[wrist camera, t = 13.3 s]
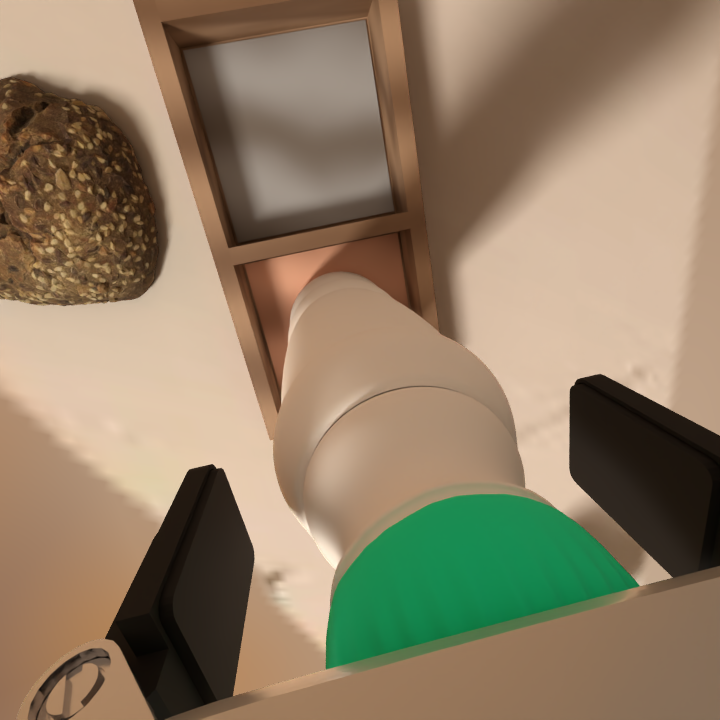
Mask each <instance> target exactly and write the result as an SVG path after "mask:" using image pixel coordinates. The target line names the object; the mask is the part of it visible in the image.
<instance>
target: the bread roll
mask: <svg viewBox="0 0 720 720" xmlns="http://www.w3.org/2000/svg"><path fill="white" fill-rule="evenodd" d="M154 212H155V207H154V203H153V201H152V199H151V197H150V195H149V192H148V188H147V186H146V185H145V183H144V181H143V179H142V177H141V169H140V166H139V164H138V162H137V159H136V157H135V153H134V149H133V148H132V146H131V145H130V143H129V142H128V140H127V139H126V137H125V136H124V135H123V133H122V132H121V130H120V129H119V128H118V127H117V126H116V125H114V123H113V122H112V121H111V120H110V118H109V117H108V116H107V115H106V114H105V112H104V111H103V110H102V109H100V108H99V107H98V106H93V105H87V104H85V103H83V102H82V101H81V100H78V99H65V98H62V97H59V96H57V95H55V94H53V93H45V92H43V91H42V90H41V89H39V88H38V87H36V86H35V85H34V84H32V83H29V82H26V81H23V80H19V79H15V78H12V77H9V78H5V79H2V80H0V299H8V300H19V301H20V302H25V303H29V304H35V305H43V306H44V305H50V304H53V305H62V306H66V305H78V304H85V305H86V304H93V303H101V302H102V303H107V302H108V301H110V302H117V301H121V300H132V299H136V298H138V297H140V296H141V295H143V294H144V293H145V292H146V291H147V290H148V288H149V287H150V285H151V284H152V282H153V281H154V270H155V266H156V261H157V256H158V252H159V248H158V245H157V238H156V236H157V230H156V228H155V220H154Z"/></svg>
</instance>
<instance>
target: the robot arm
mask: <svg viewBox="0 0 720 720" xmlns="http://www.w3.org/2000/svg"><path fill="white" fill-rule="evenodd" d="M569 469H570V473H571V476H572V478H573V480H574V481H575V482H576V483H577V484H578V485H579V486H580V487H581V488H582V489H583V490H584V491H585V492H586V493H587V494H588V495H589V496H590V497H591V498H592V499H593V500H594V501H595V502H596V503H597V504H598V505H599V506H600V507H601V508H602V509H603V510H604V511H605V512H606V513H607V514H608V515H609V516H610V517H611V518H613V519H614V520H615V521H616V522H617V523H618V524H619V525H620V526H621V527H622V528H623V529H624V530H625V531H626V532H627V533H628V534H629V535H630V536H631V537H632V538H633V539H634V540H635V541H636V542H637V543H638V544H639V545H640V546H641V547H642V548H643V549H644V550H645V551H646V552H647V553H648V554H649V555H650V556H651V557H652V558H653V559H654V560H656V561H657V562H658V563H659V564H660V565H661V566H662V567H663V568H664V569H665V570H666V571H667V572H668V573H669V574H670V575H671V576H672V577H673V578H671V579H667V580H663V581H659V582H656V583H651V584H648V585H643V586H640V587H636V588H632V589H628V590H624V591H620V592H616V593H612V594H608V595H605V596H601V597H597V598H593V599H589V600H585V601H581V602H578V603H574V604H570V605H566V606H562V607H559V608H555V609H551V610H547V611H543V612H540V613H536V614H532V615H528V616H524V617H521V618H517V619H513V620H509V621H505V622H502V623H498V624H494V625H490V626H487V627H483V628H479V629H475V630H472V631H468V632H464V633H460V634H456V635H453V636H449V637H445V638H441V639H438V640H434V641H430V642H426V643H423V644H419V645H415V646H412V647H408V648H404V649H401V650H397V651H393V652H390V653H386V654H382V655H378V656H375V657H371V658H367V659H364V660H360V661H356V662H353V663H349V664H345V665H342V666H338V667H334V668H330V669H327V670H323V671H319V672H316V673H312V674H308V675H305V676H301V677H298V678H295V679H291V680H287V681H284V682H281V683H277V684H274V685H271V686H267V687H263V688H260V689H256V690H253V691H250V692H246V693H243V694H239V695H236V696H233V691H234V685H235V679H236V673H237V666H238V660H239V653H240V648H241V641H242V635H243V628H244V622H245V616H246V610H247V603H248V597H249V591H250V585H251V579H252V572H253V566H254V549H253V546H252V543H251V540H250V538H249V535H248V532H247V530H246V527H245V524H244V522H243V519H242V517H241V514H240V511H239V509H238V506H237V503H236V501H235V498H234V495H233V493H232V490H231V488H230V485H229V482H228V480H227V477H226V474H225V472H224V470H223V469H222V468H219V469H216V467H215V466H214V465H213V464H211V465H206V466H202V467H198V468H194V469H190V470H189V471H188V472H187V474H186V476H185V478H184V480H183V482H182V484H181V486H180V488H179V490H178V492H177V494H176V496H175V499H174V501H173V503H172V505H171V507H170V509H169V511H168V513H167V515H166V517H165V519H164V521H163V523H162V525H161V527H160V530H159V532H158V533H157V534H156V536H155V537H154V539H153V541H152V543H151V545H150V547H149V549H148V551H147V554H146V556H145V558H144V560H143V562H142V564H141V566H140V568H139V570H138V572H137V574H136V576H135V578H134V580H133V582H132V584H131V586H130V588H129V590H128V592H127V594H126V597H125V598H124V601H123V603H122V605H121V607H120V609H119V611H118V613H117V615H116V617H115V619H114V621H113V623H112V625H111V627H110V629H109V631H108V633H107V635H106V637H105V639H99V640H93V641H90V642H88V643H86V644H83V645H81V646H78V647H77V648H75V649H73V650H72V651H70V652H69V653H67V654H66V655H64V656H63V657H61V658H60V659H59V660H58V661H57V662H56V663H54V665H52V666H51V667H50V668H49V669H48V670H47V671H46V672H45V673H44V674H43V675H42V676H41V677H40V678H39V680H38V681H37V682H36V683H35V684H34V685H33V687H32V689H31V690H30V691H29V693H28V695H27V696H26V698H25V699H24V701H23V703H22V705H21V708H20V710H19V713H18V715H17V720H720V436H719V435H717V434H715V433H714V432H711V431H710V430H708V429H706V428H704V427H702V426H700V425H698V424H696V423H694V422H692V421H691V420H688V419H687V418H685V417H683V416H681V415H679V414H677V413H675V412H673V411H671V410H669V409H667V408H666V407H664V406H662V405H660V404H658V403H656V402H654V401H652V400H650V399H648V398H646V397H644V396H643V395H641V394H639V393H637V392H635V391H633V390H631V389H629V388H627V387H625V386H623V385H621V384H620V383H618V382H616V381H614V380H612V379H610V378H608V377H606V376H604V375H601V374H598V375H593V376H589V377H585V378H580V379H578V380H576V382H575V385H574V386H572V387H571V389H570V449H569Z"/></svg>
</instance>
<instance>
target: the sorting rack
mask: <svg viewBox="0 0 720 720" xmlns="http://www.w3.org/2000/svg"><path fill="white" fill-rule="evenodd" d="M133 2H134V6H135V9H136V12H137V15H138V18H139V22H140V25H141V28H142V31H143V34H144V38H145V41H146V44H147V47H148V50H149V54H150V57H151V60H152V63H153V66H154V70H155V73H156V76H157V79H158V82H159V86H160V89H161V92H162V95H163V98H164V102H165V105H166V108H167V111H168V114H169V118H170V121H171V124H172V127H173V130H174V134H175V137H176V140H177V143H178V147H179V150H180V153H181V156H182V159H183V163H184V166H185V169H186V172H187V175H188V179H189V182H190V185H191V188H192V191H193V195H194V198H195V201H196V204H197V207H198V211H199V214H200V217H201V220H202V223H203V227H204V230H205V233H206V236H207V239H208V243H209V246H210V249H211V252H212V255H213V259H214V262H215V265H216V268H217V271H218V275H219V278H220V281H221V284H222V287H223V291H224V294H225V297H226V300H227V303H228V307H229V310H230V313H231V316H232V320H233V323H234V326H235V329H236V332H237V336H238V339H239V342H240V345H241V348H242V352H243V355H244V358H245V361H246V364H247V368H248V371H249V374H250V377H251V380H252V384H253V387H254V390H255V393H256V396H257V400H258V403H259V406H260V409H261V412H262V416H263V419H264V422H265V425H266V428H267V432H268V435H269V438H270V440H273V439H274V431H275V425H276V420H277V416H278V413H279V410H280V407H281V391H282V378H283V369H284V362H285V356H286V352H287V347H288V333H289V327H290V315H291V310H292V307H293V304H294V302H295V300H296V298H297V296H298V294H299V293H300V292H301V290H302V289H303V288H304V287H305V286H306V285H307V284H308V283H309V282H311V281H312V280H314V279H315V278H317V277H319V276H321V275H324V274H327V273H331V272H340V271H343V272H351V273H355V274H358V275H361V276H363V277H365V278H367V279H369V280H370V281H371V282H373V283H374V284H375V285H376V286H378V287H379V288H381V289H382V290H384V291H385V292H386V293H387V294H389V295H390V296H391V297H392V298H393V299H394V300H396V301H398V302H400V303H401V304H403V305H404V306H406V307H407V308H409V309H410V310H412V311H413V312H415V313H416V314H417V315H419V316H420V317H421V318H423V319H424V320H425V321H426V322H428V323H429V324H430V325H431V326H433V327H434V328H435V329H436V330H437V331H438V332H439V325H438V317H437V309H436V301H435V293H434V286H433V278H432V270H431V262H430V254H429V246H428V238H427V230H426V222H425V214H424V206H423V198H422V190H421V182H420V175H419V167H418V159H417V151H416V143H415V135H414V127H413V119H412V111H411V103H410V95H409V87H408V79H407V71H406V64H405V56H404V48H403V40H402V32H401V24H400V16H399V8H398V0H133Z"/></svg>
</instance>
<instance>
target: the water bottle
mask: <svg viewBox="0 0 720 720" xmlns="http://www.w3.org/2000/svg"><path fill="white" fill-rule="evenodd" d="M273 457H274V466H275V472H276V476H277V480H278V483H279V486H280V489H281V492H282V494H283V496H284V499H285V501H286V502H287V504H288V506H289V508H290V510H291V511H292V513H293V514H294V516H295V517H296V518H297V520H298V521H299V522H300V524H301V525H302V526H303V527H304V528H305V530H306V531H307V532H308V533H309V534H310V536H311V537H312V538H313V539H314V541H315V543H316V545H317V547H318V548H319V550H320V552H321V553H322V555H323V556H324V557H325V559H326V560H327V561H328V562H329V563H330V565H331V566H332V567H333V568H334V569H335V570H336V571H335V575H334V579H333V583H332V590H331V598H330V613H329V621H328V628H327V636H326V670H327V669H330V668H334V667H338V666H342V665H345V664H349V663H353V662H356V661H360V660H364V659H367V658H371V657H375V656H378V655H382V654H386V653H390V652H393V651H397V650H401V649H404V648H408V647H412V646H415V645H419V644H423V643H426V642H430V641H434V640H438V639H441V638H445V637H449V636H453V635H456V634H460V633H464V632H468V631H472V630H475V629H479V628H483V627H487V626H490V625H494V624H498V623H502V622H505V621H509V620H513V619H517V618H521V617H524V616H528V615H532V614H536V613H540V612H543V611H547V610H551V609H555V608H559V607H562V606H566V605H570V604H574V603H578V602H581V601H585V600H589V599H593V598H597V597H601V596H605V595H608V594H612V593H616V592H620V591H624V590H628V589H632V588H636V587H640V586H639V585H638V583H637V582H636V581H635V580H634V579H633V578H632V576H631V575H630V574H629V573H628V572H627V571H626V570H625V569H624V568H623V567H622V566H621V565H620V564H619V563H618V562H617V561H616V560H615V559H614V558H613V556H612V555H611V554H610V553H609V552H608V551H607V550H606V549H605V548H604V547H603V546H602V545H601V544H600V543H599V542H598V541H597V540H596V539H595V538H593V537H592V536H591V535H590V534H589V533H588V532H587V531H586V530H585V529H584V528H583V527H581V526H580V525H579V524H577V523H576V522H575V521H573V520H572V519H570V518H569V517H568V516H566V515H565V514H563V513H562V512H560V511H559V510H557V509H556V508H555V507H554V506H553V505H552V504H551V503H550V502H548V501H547V500H546V499H544V498H543V497H541V496H540V495H538V494H536V493H535V492H533V491H531V490H528V489H526V488H525V476H524V470H523V465H522V461H521V457H520V454H519V452H518V448H517V439H516V431H515V425H514V420H513V415H512V412H511V408H510V406H509V403H508V400H507V398H506V396H505V393H504V391H503V389H502V387H501V386H500V384H499V382H498V381H497V379H496V378H495V376H494V375H493V374H492V372H491V371H490V370H489V369H488V367H487V366H486V365H485V364H484V363H483V362H482V361H481V360H480V359H479V358H478V357H477V356H475V355H474V354H473V353H472V352H471V351H469V350H468V349H467V348H465V347H464V346H462V345H461V344H459V343H457V342H456V341H454V340H452V339H450V338H448V337H445V336H443V335H441V334H440V333H439V332H438V331H437V330H436V329H435V328H434V327H433V326H431V325H430V324H429V323H428V322H426V321H425V320H424V319H423V318H421V317H420V316H419V315H417V314H416V313H415V312H413V311H412V310H410V309H409V308H407V307H406V306H404V305H403V304H401V303H400V302H398V301H396V300H394V299H393V298H392V297H391V296H390V295H389V294H387V293H386V292H385V291H384V290H382V289H381V288H379V287H378V286H376V285H375V284H374V283H373V282H371V281H370V280H369V279H367V278H365V277H363V276H361V275H358V274H355V273H351V272H343V271H340V272H331V273H327V274H324V275H321V276H319V277H317V278H315V279H314V280H312V281H311V282H309V283H308V284H307V285H306V286H305V287H304V288H303V289H302V290H301V292H300V293H299V294H298V296H297V298H296V300H295V302H294V304H293V307H292V310H291V315H290V327H289V333H288V347H287V352H286V356H285V362H284V369H283V378H282V391H281V407H280V410H279V413H278V416H277V420H276V425H275V431H274V439H273Z"/></svg>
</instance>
